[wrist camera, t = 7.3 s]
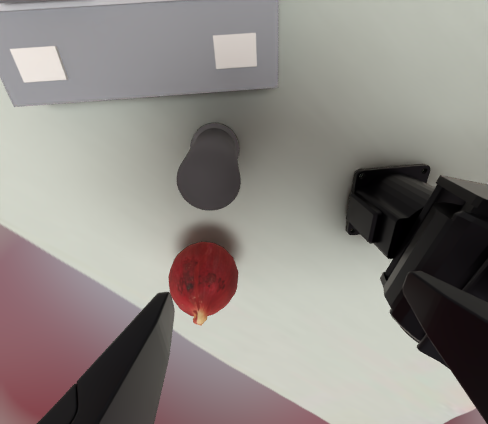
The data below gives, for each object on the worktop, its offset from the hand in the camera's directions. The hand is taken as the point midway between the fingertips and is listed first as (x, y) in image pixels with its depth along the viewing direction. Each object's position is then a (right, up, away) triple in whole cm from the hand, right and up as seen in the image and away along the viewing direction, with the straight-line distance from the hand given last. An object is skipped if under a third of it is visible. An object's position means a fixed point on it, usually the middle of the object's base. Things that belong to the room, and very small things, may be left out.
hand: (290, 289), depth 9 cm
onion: (-5, -1, +15) cm, 16 cm away
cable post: (-4, +8, +10) cm, 14 cm away
